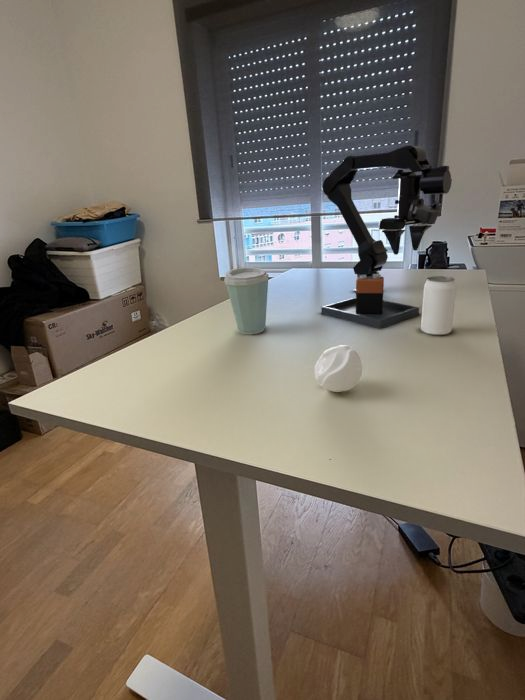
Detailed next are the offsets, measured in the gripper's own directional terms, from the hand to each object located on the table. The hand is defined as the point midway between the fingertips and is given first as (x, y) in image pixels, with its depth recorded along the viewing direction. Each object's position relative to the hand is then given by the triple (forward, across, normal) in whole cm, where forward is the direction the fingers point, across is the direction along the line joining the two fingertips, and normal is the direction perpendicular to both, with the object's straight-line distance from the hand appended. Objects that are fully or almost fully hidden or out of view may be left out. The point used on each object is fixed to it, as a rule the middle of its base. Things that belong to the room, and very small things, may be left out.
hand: (405, 252), depth 119 cm
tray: (+13, -22, -5) cm, 26 cm away
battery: (+13, -22, -5) cm, 26 cm away
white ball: (+13, -60, -30) cm, 68 cm away
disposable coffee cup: (+13, -52, +7) cm, 54 cm away
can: (+13, -23, -25) cm, 36 cm away
